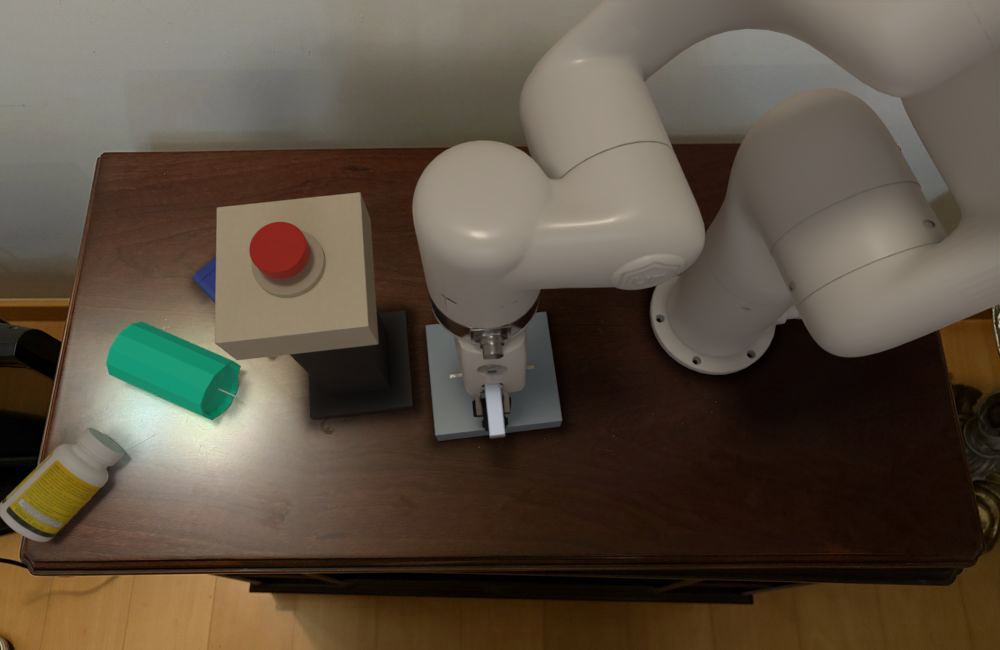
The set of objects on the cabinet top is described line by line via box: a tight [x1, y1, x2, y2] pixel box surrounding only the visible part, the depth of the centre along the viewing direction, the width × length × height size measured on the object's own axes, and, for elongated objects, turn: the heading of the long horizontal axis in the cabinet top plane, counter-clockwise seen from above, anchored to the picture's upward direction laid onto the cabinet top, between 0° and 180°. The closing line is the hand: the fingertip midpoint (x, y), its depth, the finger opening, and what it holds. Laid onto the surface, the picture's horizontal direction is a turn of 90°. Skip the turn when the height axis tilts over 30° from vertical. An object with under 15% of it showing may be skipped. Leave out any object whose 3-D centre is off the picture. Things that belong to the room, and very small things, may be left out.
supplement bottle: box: [0, 427, 124, 543], centre depth 65 cm, size 5×5×10 cm
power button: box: [249, 222, 310, 279], centre depth 45 cm, size 4×4×1 cm
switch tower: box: [214, 191, 415, 421], centre depth 59 cm, size 10×10×26 cm
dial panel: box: [424, 311, 563, 442], centre depth 69 cm, size 12×11×3 cm
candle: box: [105, 321, 242, 421], centre depth 68 cm, size 6×6×12 cm
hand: (485, 359), depth 63 cm, fingers open, 9 cm apart
